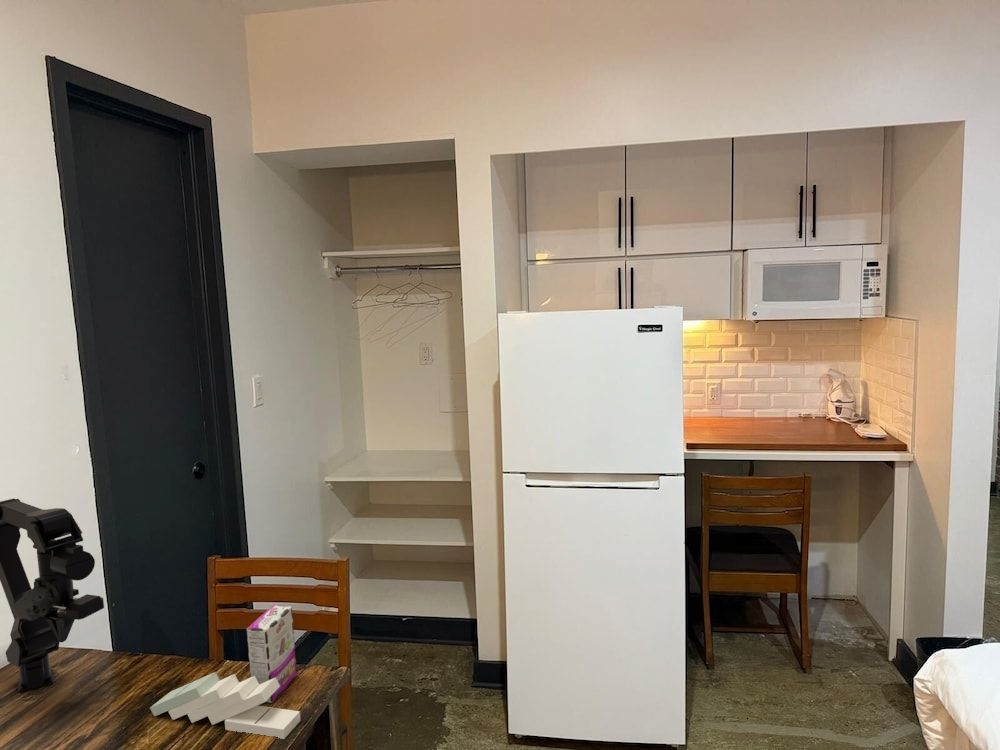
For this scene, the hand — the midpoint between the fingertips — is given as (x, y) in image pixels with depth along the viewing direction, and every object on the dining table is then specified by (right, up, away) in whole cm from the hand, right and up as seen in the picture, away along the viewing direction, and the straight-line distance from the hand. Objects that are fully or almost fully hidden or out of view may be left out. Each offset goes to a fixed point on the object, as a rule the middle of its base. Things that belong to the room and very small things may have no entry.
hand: (62, 641), depth 149 cm
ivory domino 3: (+35, -12, -6) cm, 38 cm away
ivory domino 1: (+27, -12, -4) cm, 30 cm away
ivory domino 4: (+39, -12, -8) cm, 42 cm away
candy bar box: (+44, -12, +4) cm, 45 cm away
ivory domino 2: (+31, -12, -5) cm, 34 cm away
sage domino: (+22, -12, -3) cm, 26 cm away
